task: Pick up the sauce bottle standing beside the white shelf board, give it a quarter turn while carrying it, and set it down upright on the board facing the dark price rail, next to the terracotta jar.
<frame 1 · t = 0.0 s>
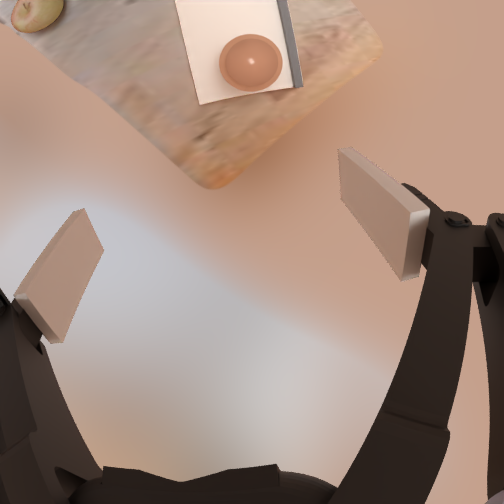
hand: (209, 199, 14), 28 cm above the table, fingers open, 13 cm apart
fruit: (49, 11, 23), on the table
terracotta jar: (244, 64, 31), point 2 cm above the table, touching shelf board
shelf board: (236, 31, 31), on the table
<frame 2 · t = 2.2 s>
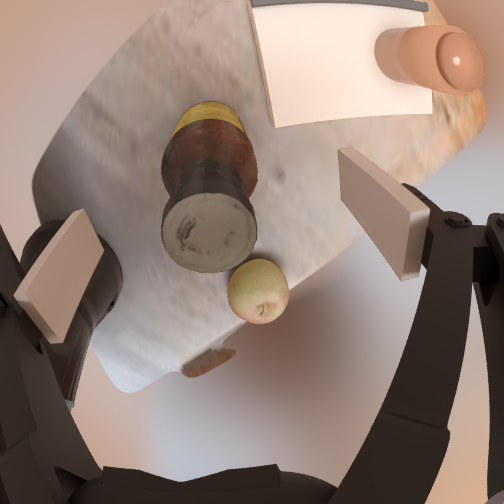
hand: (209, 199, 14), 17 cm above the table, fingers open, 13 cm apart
fruit: (254, 273, 39), on the table
terracotta jar: (399, 55, 22), point 3 cm above the table, touching shelf board
sauce bottle: (211, 130, 28), on the table
shelf board: (346, 54, 24), on the table
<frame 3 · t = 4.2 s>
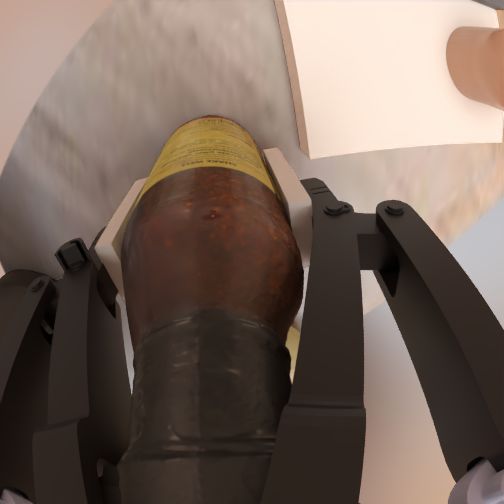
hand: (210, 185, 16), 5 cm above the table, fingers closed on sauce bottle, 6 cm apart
fruit: (269, 333, 31), on the table
terracotta jar: (473, 63, 14), point 3 cm above the table, touching shelf board
sauce bottle: (213, 158, 20), on the table, touching gripper
shelf board: (405, 54, 16), on the table
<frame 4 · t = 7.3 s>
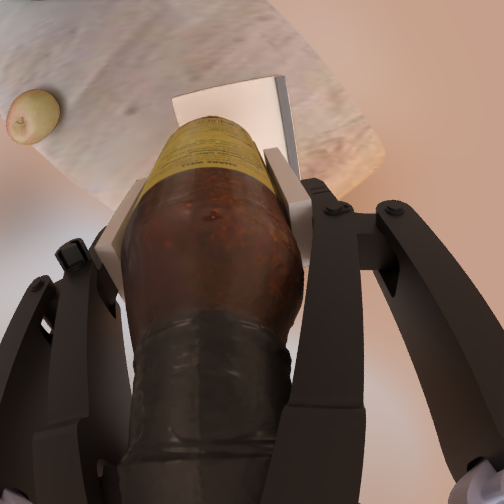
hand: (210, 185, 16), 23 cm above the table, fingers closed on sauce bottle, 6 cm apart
fruit: (45, 111, 30), on the table
sauce bottle: (213, 158, 20), point 18 cm above the table, touching gripper
shelf board: (240, 150, 37), on the table
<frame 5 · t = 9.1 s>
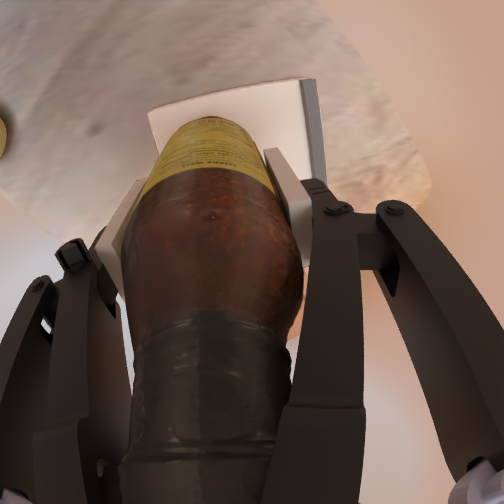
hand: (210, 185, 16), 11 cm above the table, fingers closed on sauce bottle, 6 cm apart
terracotta jar: (260, 242, 28), point 3 cm above the table, touching shelf board
sauce bottle: (213, 158, 20), point 6 cm above the table, touching gripper
shelf board: (247, 183, 27), on the table
when the fingers open (8 cm above the table, at t = 10.5 s): sauce bottle stays where it is, resting on shelf board.
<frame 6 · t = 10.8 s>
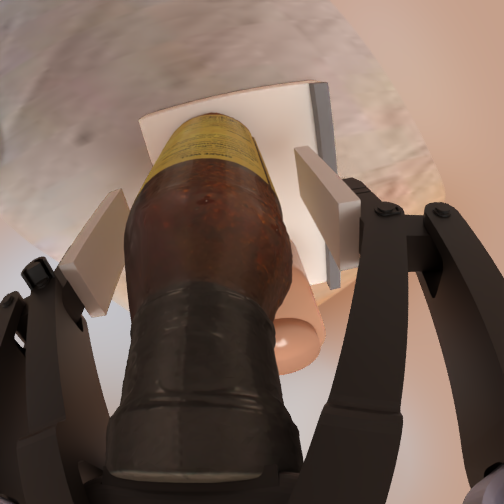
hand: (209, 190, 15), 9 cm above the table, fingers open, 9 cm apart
terracotta jar: (264, 260, 26), point 3 cm above the table, touching shelf board
sauce bottle: (214, 153, 21), point 2 cm above the table, touching shelf board
shelf board: (250, 196, 25), on the table
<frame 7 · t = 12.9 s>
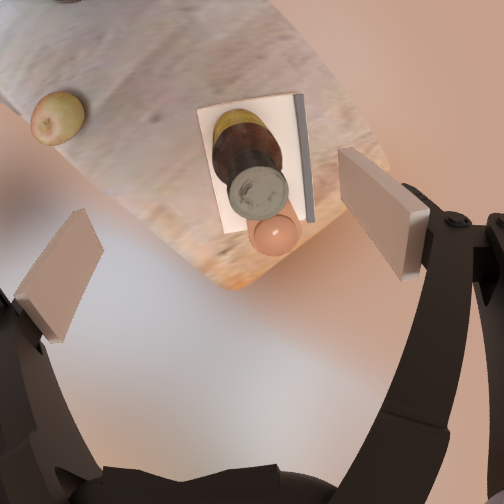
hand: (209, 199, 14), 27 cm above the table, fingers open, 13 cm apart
fruit: (68, 113, 33), on the table
terracotta jar: (265, 200, 41), point 3 cm above the table, touching shelf board
sauce bottle: (239, 132, 36), point 2 cm above the table, touching shelf board
shelf board: (258, 161, 40), on the table
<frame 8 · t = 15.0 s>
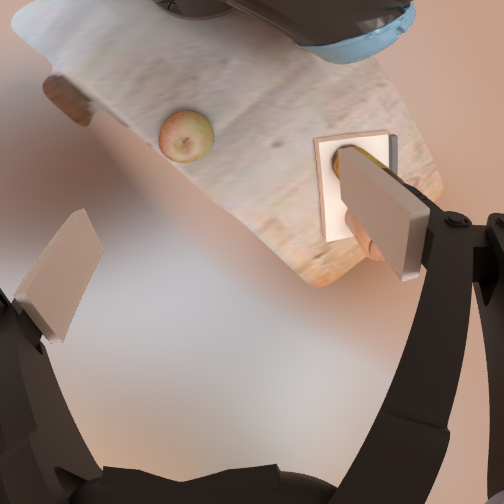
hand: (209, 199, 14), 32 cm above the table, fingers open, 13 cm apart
fruit: (188, 131, 42), on the table
terracotta jar: (360, 215, 49), point 3 cm above the table, touching shelf board
sauce bottle: (348, 162, 44), point 2 cm above the table, touching shelf board
shelf board: (354, 183, 49), on the table
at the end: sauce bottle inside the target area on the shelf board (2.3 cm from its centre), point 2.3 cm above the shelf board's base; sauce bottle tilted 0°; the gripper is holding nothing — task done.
